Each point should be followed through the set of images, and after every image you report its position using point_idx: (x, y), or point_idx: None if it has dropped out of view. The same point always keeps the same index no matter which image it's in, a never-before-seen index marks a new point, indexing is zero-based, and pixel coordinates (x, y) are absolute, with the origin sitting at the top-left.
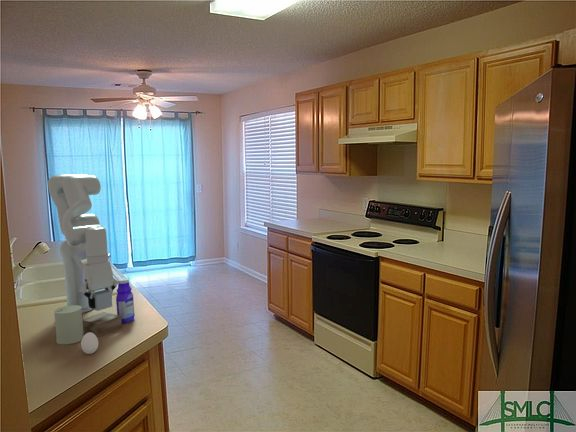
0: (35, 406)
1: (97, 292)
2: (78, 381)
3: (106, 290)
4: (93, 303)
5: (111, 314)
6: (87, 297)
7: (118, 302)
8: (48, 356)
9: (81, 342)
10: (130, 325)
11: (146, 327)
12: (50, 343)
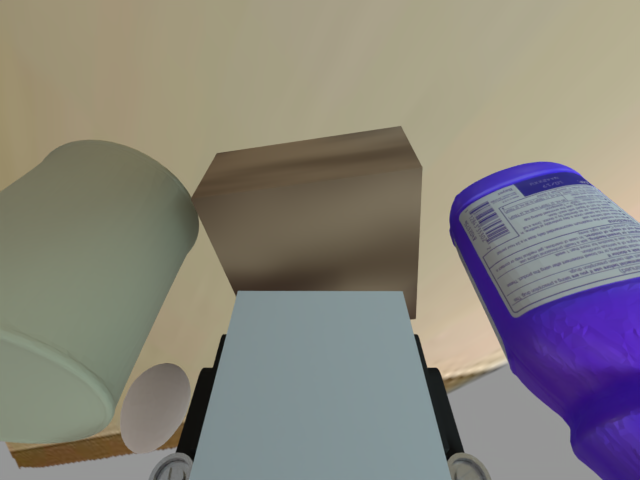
0: (18, 446)
1: None
2: (108, 434)
3: None
4: None
5: (406, 263)
6: (166, 462)
7: (498, 335)
8: None
9: (121, 410)
10: (443, 274)
11: (451, 334)
12: (3, 176)
